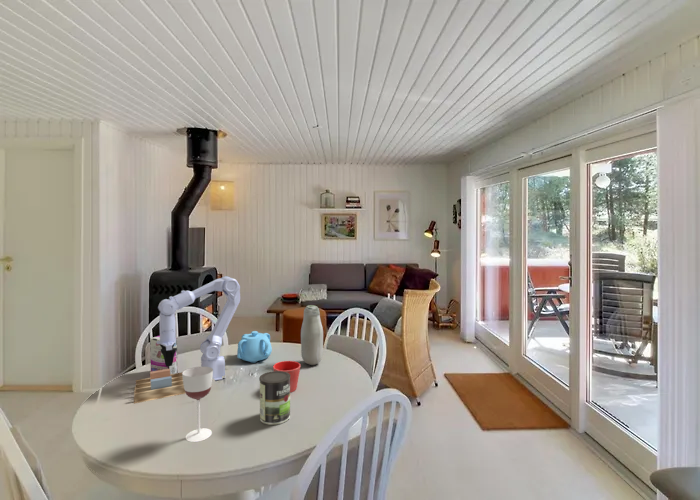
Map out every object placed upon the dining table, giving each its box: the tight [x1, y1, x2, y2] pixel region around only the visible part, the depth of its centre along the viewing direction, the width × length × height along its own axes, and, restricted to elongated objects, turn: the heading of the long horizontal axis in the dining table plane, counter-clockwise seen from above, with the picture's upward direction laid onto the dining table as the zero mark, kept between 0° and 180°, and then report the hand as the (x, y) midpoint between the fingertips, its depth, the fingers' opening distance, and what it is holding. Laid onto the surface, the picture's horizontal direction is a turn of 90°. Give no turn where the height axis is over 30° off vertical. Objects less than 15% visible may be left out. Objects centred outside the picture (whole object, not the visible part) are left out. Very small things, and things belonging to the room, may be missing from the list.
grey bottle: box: [300, 304, 324, 366], centre depth 173 cm, size 10×10×28 cm
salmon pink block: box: [149, 369, 170, 382], centre depth 146 cm, size 7×2×6 cm, turn 120°
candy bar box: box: [149, 335, 179, 374], centre depth 159 cm, size 11×5×16 cm, turn 68°
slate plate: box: [151, 376, 172, 390], centre depth 138 cm, size 7×2×6 cm, turn 119°
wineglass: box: [182, 366, 213, 443], centre depth 112 cm, size 8×9×20 cm
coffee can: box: [258, 370, 291, 426], centre depth 123 cm, size 10×10×14 cm
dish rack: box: [133, 371, 186, 404], centre depth 142 cm, size 18×16×4 cm
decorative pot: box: [236, 330, 273, 364], centre depth 180 cm, size 16×16×14 cm
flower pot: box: [272, 360, 301, 394], centre depth 145 cm, size 11×11×10 cm
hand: (168, 362), depth 146 cm, fingers open, 7 cm apart
